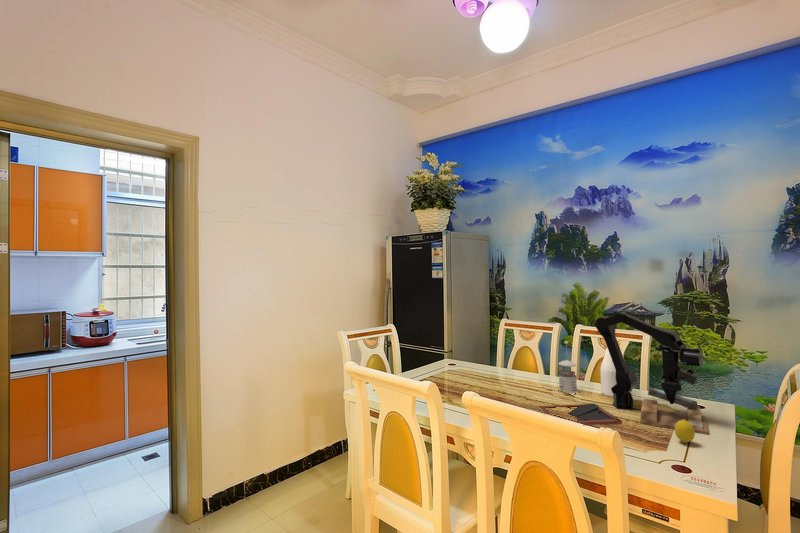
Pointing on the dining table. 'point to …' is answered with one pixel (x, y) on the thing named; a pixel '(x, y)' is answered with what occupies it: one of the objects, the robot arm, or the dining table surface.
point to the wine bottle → (607, 375)
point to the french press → (567, 381)
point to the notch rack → (671, 417)
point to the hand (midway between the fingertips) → (671, 402)
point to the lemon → (684, 431)
